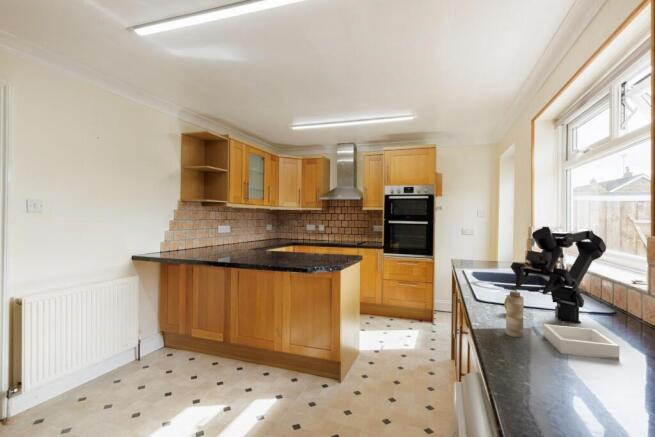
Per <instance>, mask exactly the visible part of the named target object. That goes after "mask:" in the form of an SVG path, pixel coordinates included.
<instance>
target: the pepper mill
mask: <svg viewBox="0 0 655 437" xmlns="http://www.w3.org/2000/svg"><path fill="white" fill-rule="evenodd" d="M505 299H506V309H505V310H506V314H505V317H506V318H505V333H506V335H508V336H510V337H514V338H523V337H524V300H525V299H524V297H523V296H522V295H521V292H520V291H515V290H511V291H509V294H507V295H506V298H505Z"/></svg>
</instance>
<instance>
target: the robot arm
mask: <svg viewBox="0 0 655 437" xmlns="http://www.w3.org/2000/svg"><path fill="white" fill-rule="evenodd" d="M531 236H532V238H533V240H534V242H535V244H536V246H537V247H538V248H539V249H540V250H541V251H534V250H527V253H526V255H525V261H528V262H529V265H530V267H528V266H526V264H525V263H524V262H523V263H522V262H516V261H514V262H512V264H511V265H510V268H511V270H512V272H513V273H514V274H515V276H516V279H515V289H520V288H521V286H523V284H524V283H525V282H526V281H527V280H528V279H527V277H528V276H529V275H530V274H531V275H537V276H540V277H545V278H549V279H548V281H547V283H546V284H545V286H544V287H543V289H542V292H541V293H542V295H547V294H549V293H550V295H551V300H552V303H556V306H555V307H554V317H555V318H556V319H558V320H559V321H560V322H564V323H576V324H581V323H582V321H580V308H584V304H585V300H584V298H583V296H582V295H581V290H580V287H579V286H580V285H581V282H582V281H583V279H584V278H585V275H586V274H587V271H588V270H589V268H590V267H591V265H592V263H593V261H595V260H598V259H599V258H601V257H602V256H603V255H604V253H605V252H606V251H607V245H606V244H605V241H604V239H603V238H602V237H600V236H598V235H597V234H595V233H594V231H593V230H592V229H585V228H584V229H583V228H582V229H580V228H579V229H575V230H571V231H570V230H569V231H567V232H564V231H563V232H562V231H560V232H559V231H551V229H550V227H549V226H541V228H538V229H537V230H534V231H533V232H532V234H531ZM574 244H575V246H576V248H577V252H578V254H577V257H576V258H575V260H574V261H573V263H572V266H570V268H569V270H568V269H567V268H561V267H560V268H559V267H558V266H557V263H558V261H559V259H564V257H565V255H564V254H563V249H562V248H565V249H566V248H567V249H568V248H571V247H572V246H573V245H574Z"/></svg>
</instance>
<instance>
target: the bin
mask: <svg viewBox="0 0 655 437" xmlns="http://www.w3.org/2000/svg"><path fill="white" fill-rule="evenodd" d="M543 338H545V339H546V340H547V341H548V342H549V343H550V344H551V345H552V346H553V347H554V349H555V350H557V351H558V352H559V353H560V354H564V355H571V354H572V355H573V356H579V357H588V358H589V357H590V358H598V359H606V360H613V361H620V345H619V344H617V343H616V342H614V341H613V340H611V339H610V338H608V337H607V336H605V335H604V334H602V333H600V332H599V331H598V330H596V329H595V328H589V327H588V328H586V327H577V326H565V325H557V324H547V323H543ZM572 355H571V356H572Z"/></svg>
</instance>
